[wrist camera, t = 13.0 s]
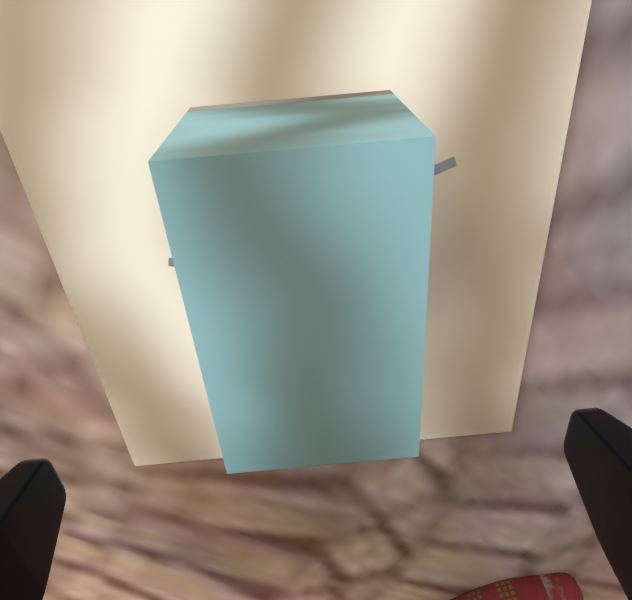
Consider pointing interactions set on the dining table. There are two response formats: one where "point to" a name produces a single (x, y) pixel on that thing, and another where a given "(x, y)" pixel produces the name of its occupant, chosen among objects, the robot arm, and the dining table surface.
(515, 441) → the dining table surface
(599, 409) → the robot arm
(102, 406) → the dining table surface
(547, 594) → the pliers
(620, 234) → the dining table surface
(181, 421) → the board
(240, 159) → the block
